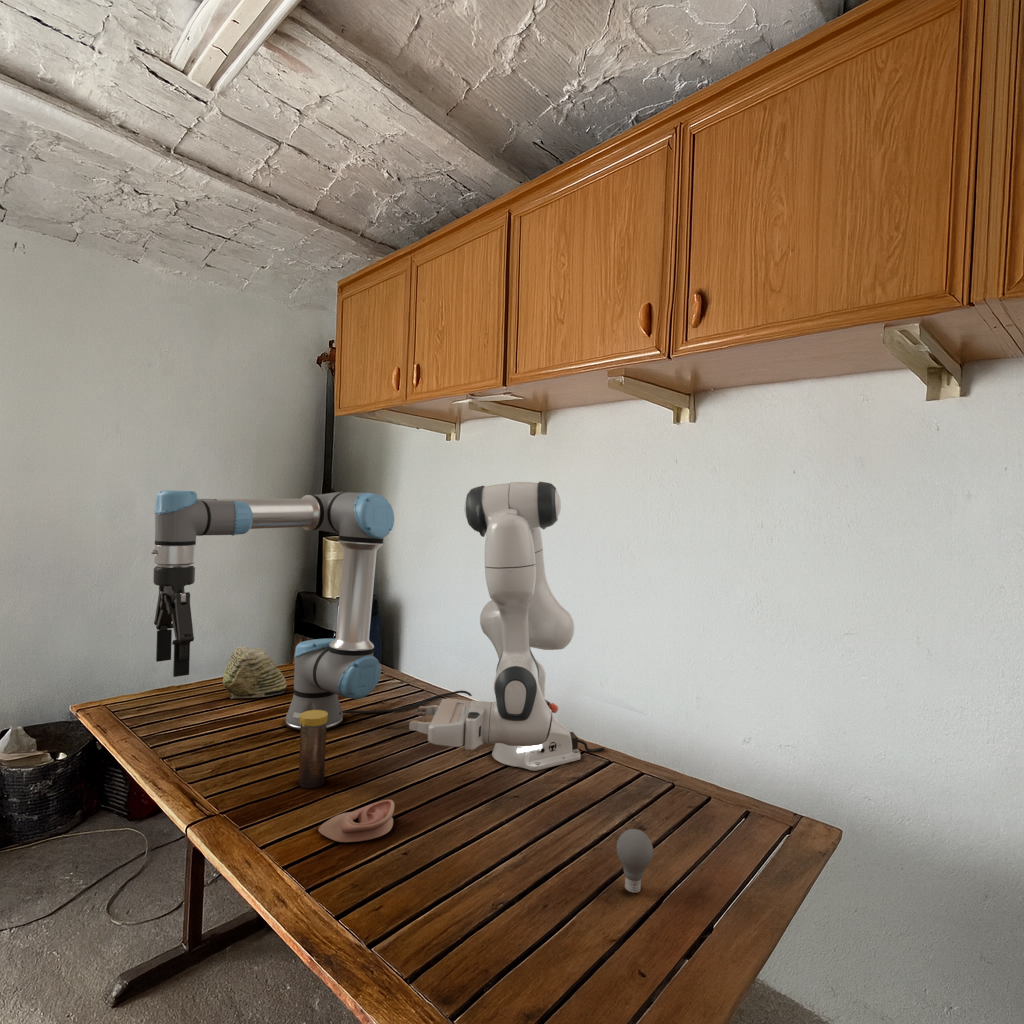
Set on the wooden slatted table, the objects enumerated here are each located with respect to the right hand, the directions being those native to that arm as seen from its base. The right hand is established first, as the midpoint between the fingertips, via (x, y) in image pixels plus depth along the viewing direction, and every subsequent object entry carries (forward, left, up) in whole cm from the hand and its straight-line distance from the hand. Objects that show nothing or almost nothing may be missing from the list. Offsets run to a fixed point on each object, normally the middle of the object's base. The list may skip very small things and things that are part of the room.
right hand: (414, 717), depth 139 cm
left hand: (+48, -12, +11) cm, 51 cm away
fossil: (+31, -77, -16) cm, 85 cm away
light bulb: (-26, +47, -16) cm, 56 cm away
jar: (+20, -10, -16) cm, 27 cm away
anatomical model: (+14, +13, -16) cm, 25 cm away
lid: (+20, -10, -1) cm, 22 cm away
